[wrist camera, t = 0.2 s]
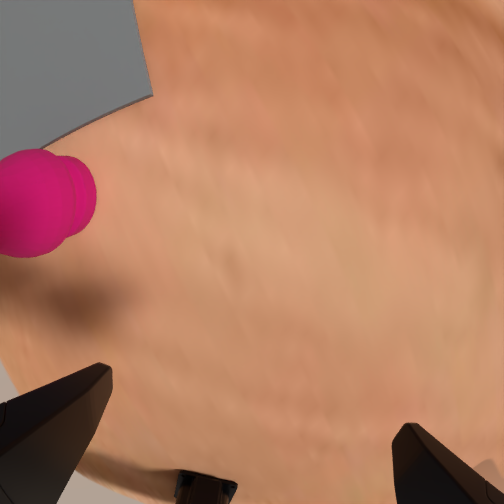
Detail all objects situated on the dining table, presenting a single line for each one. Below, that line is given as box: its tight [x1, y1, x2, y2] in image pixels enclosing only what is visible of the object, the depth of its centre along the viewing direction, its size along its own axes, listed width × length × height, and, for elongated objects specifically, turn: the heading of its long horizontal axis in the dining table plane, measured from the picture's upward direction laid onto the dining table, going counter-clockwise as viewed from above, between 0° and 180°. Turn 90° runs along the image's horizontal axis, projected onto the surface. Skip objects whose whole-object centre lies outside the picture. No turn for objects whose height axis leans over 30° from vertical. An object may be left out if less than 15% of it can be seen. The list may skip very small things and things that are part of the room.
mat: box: [0, 0, 153, 161], centre depth 18 cm, size 22×18×1 cm
